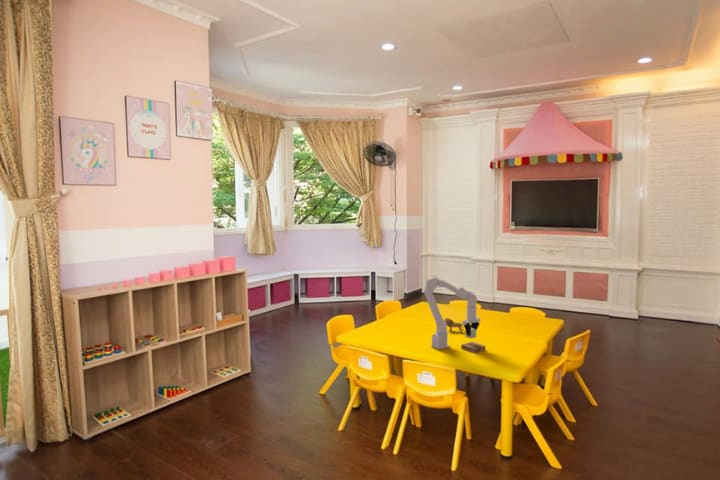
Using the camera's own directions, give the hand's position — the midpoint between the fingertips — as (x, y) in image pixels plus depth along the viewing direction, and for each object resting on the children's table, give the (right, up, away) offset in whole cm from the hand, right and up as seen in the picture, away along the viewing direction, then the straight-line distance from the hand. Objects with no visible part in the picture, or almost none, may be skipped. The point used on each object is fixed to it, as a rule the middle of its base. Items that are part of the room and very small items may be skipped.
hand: (471, 334), depth 274 cm
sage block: (0, -2, 0) cm, 2 cm away
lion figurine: (-3, -6, +36) cm, 37 cm away
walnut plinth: (+1, -9, -2) cm, 9 cm away
